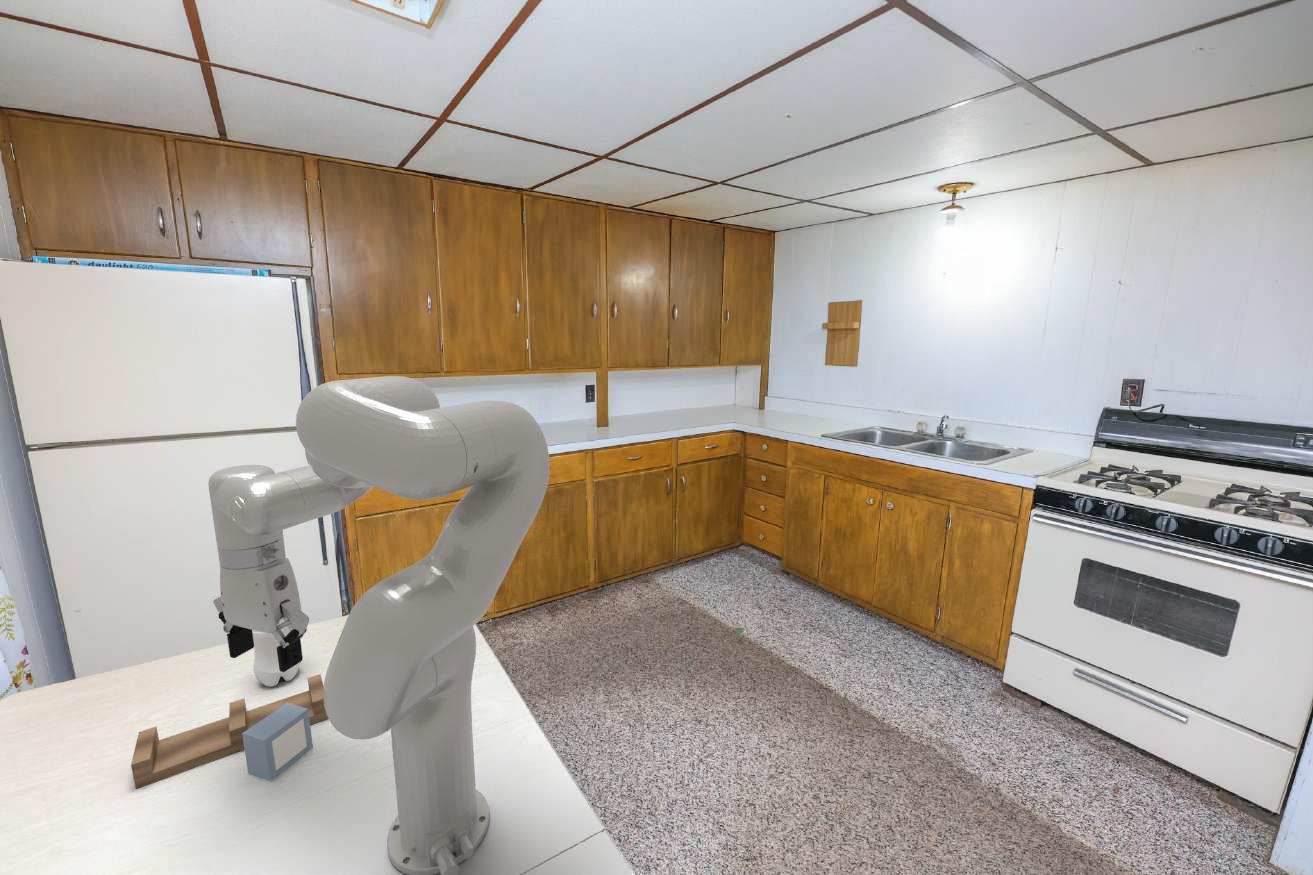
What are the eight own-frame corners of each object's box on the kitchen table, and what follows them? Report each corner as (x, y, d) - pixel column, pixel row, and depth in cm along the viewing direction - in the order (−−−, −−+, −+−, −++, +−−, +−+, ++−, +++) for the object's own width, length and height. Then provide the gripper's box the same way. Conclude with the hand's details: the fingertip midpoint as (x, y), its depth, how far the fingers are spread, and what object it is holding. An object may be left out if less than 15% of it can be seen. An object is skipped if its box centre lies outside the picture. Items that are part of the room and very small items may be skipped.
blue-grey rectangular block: (313, 747, 85) (308, 708, 84) (270, 781, 78) (264, 740, 77) (292, 740, 86) (287, 702, 85) (248, 773, 80) (242, 733, 78)
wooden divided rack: (328, 718, 91) (326, 697, 90) (135, 788, 77) (130, 765, 76) (322, 693, 97) (320, 673, 97) (143, 754, 83) (138, 731, 82)
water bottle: (248, 682, 100) (230, 558, 95) (288, 662, 106) (273, 544, 101) (269, 694, 97) (251, 567, 92) (309, 673, 103) (295, 552, 98)
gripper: (322, 550, 77) (333, 656, 80) (235, 534, 82) (249, 635, 85) (272, 572, 70) (286, 687, 73) (180, 553, 75) (197, 662, 78)
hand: (266, 659), depth 79 cm, fingers open, 9 cm apart
